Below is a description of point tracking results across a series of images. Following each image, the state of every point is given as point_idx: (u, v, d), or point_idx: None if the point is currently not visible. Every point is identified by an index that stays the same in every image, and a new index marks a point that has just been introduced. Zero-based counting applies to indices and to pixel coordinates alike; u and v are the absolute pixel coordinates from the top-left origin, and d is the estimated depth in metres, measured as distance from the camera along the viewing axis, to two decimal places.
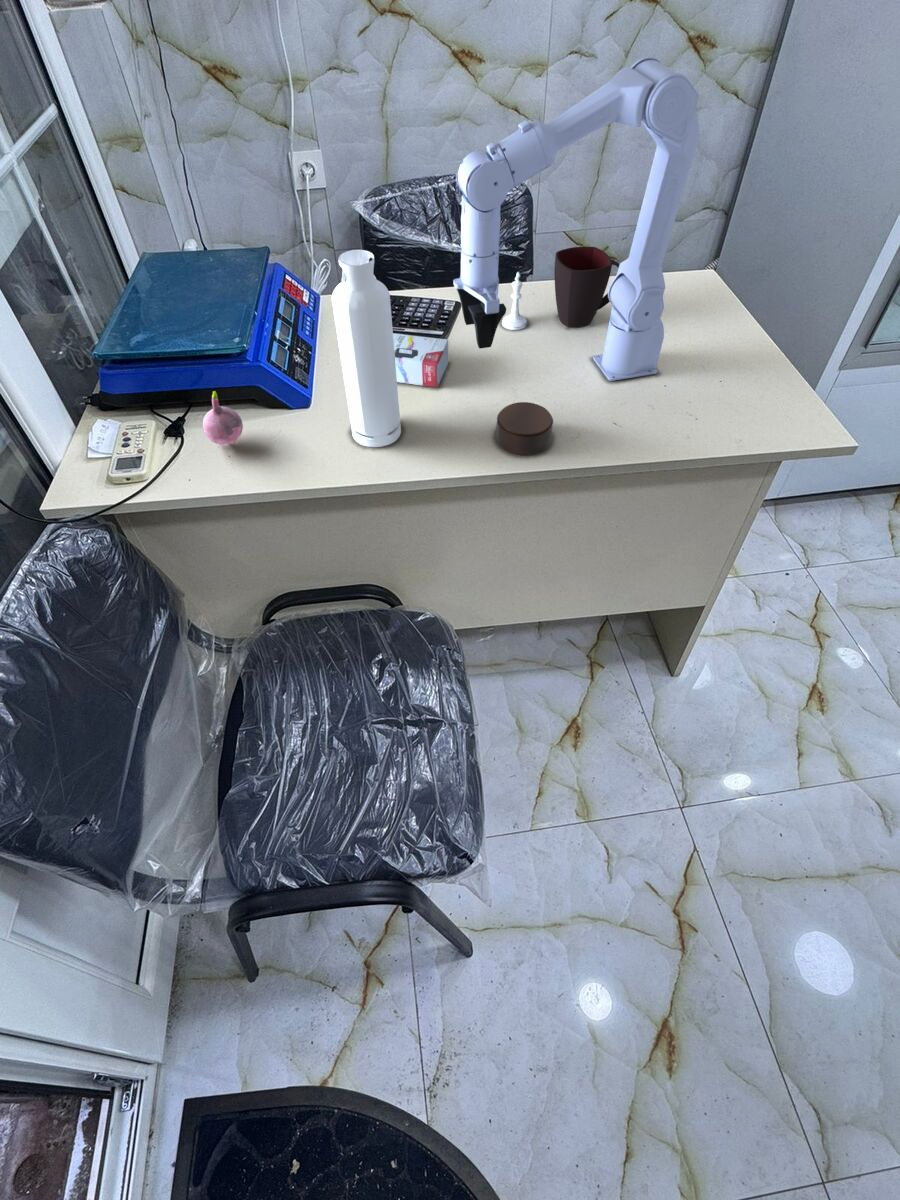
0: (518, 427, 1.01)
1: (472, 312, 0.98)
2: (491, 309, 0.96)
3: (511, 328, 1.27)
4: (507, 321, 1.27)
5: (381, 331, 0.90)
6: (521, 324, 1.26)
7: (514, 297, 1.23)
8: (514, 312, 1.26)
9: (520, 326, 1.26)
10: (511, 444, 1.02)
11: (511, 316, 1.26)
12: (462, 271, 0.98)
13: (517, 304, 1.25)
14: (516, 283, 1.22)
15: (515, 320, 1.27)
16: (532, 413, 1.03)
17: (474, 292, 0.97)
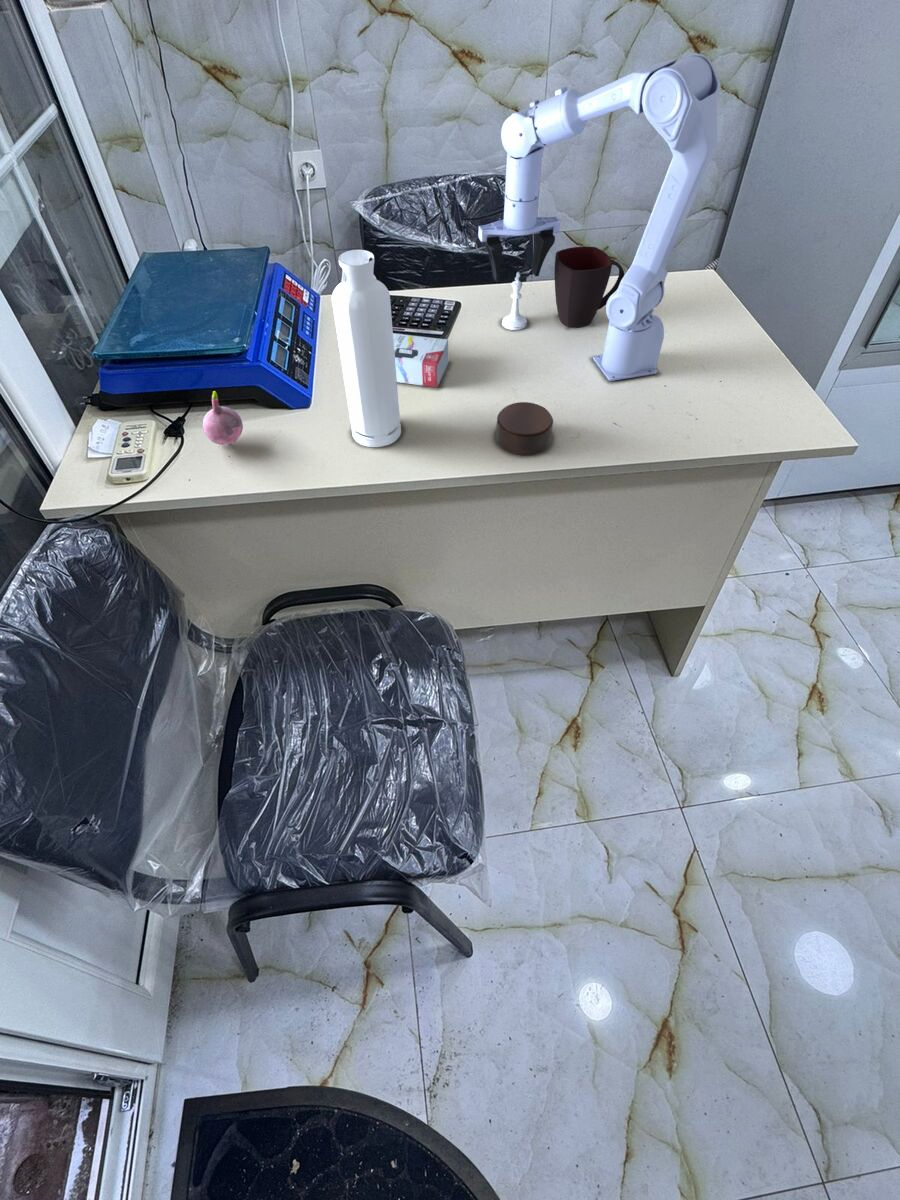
0: (518, 427, 1.01)
1: None
2: (479, 235, 1.13)
3: (511, 328, 1.27)
4: (507, 321, 1.27)
5: (381, 331, 0.90)
6: (521, 324, 1.26)
7: (514, 297, 1.23)
8: (514, 312, 1.26)
9: (520, 326, 1.26)
10: (511, 444, 1.02)
11: (511, 316, 1.26)
12: None
13: (517, 304, 1.25)
14: (516, 283, 1.22)
15: (515, 320, 1.27)
16: (532, 413, 1.03)
17: (496, 222, 1.13)
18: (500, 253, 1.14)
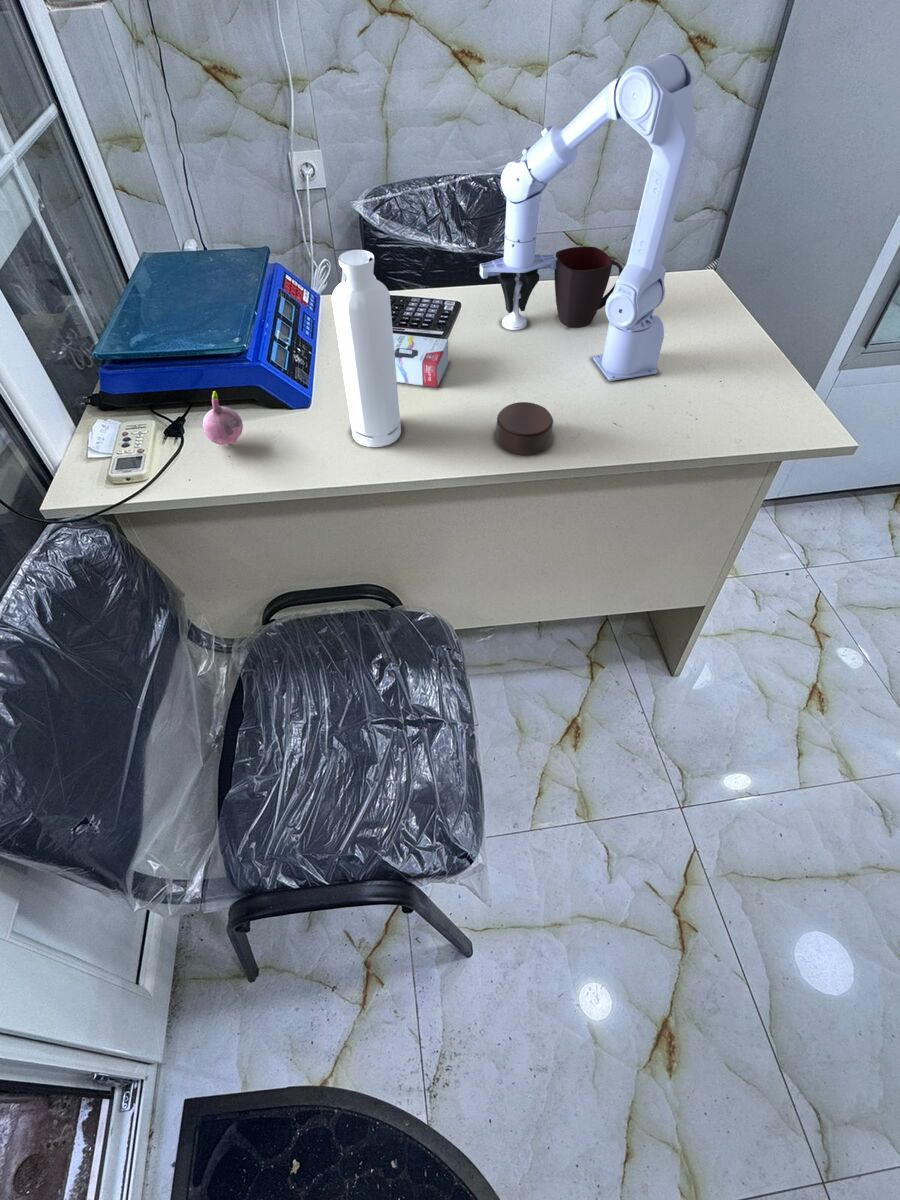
0: (518, 427, 1.01)
1: None
2: (480, 272, 1.19)
3: (511, 328, 1.27)
4: (507, 321, 1.27)
5: (381, 331, 0.90)
6: (521, 324, 1.26)
7: (514, 297, 1.23)
8: (514, 312, 1.26)
9: (520, 326, 1.26)
10: (511, 444, 1.02)
11: (511, 316, 1.26)
12: None
13: (517, 304, 1.25)
14: (516, 283, 1.22)
15: (515, 320, 1.27)
16: (532, 413, 1.03)
17: (496, 260, 1.19)
18: (513, 287, 1.20)
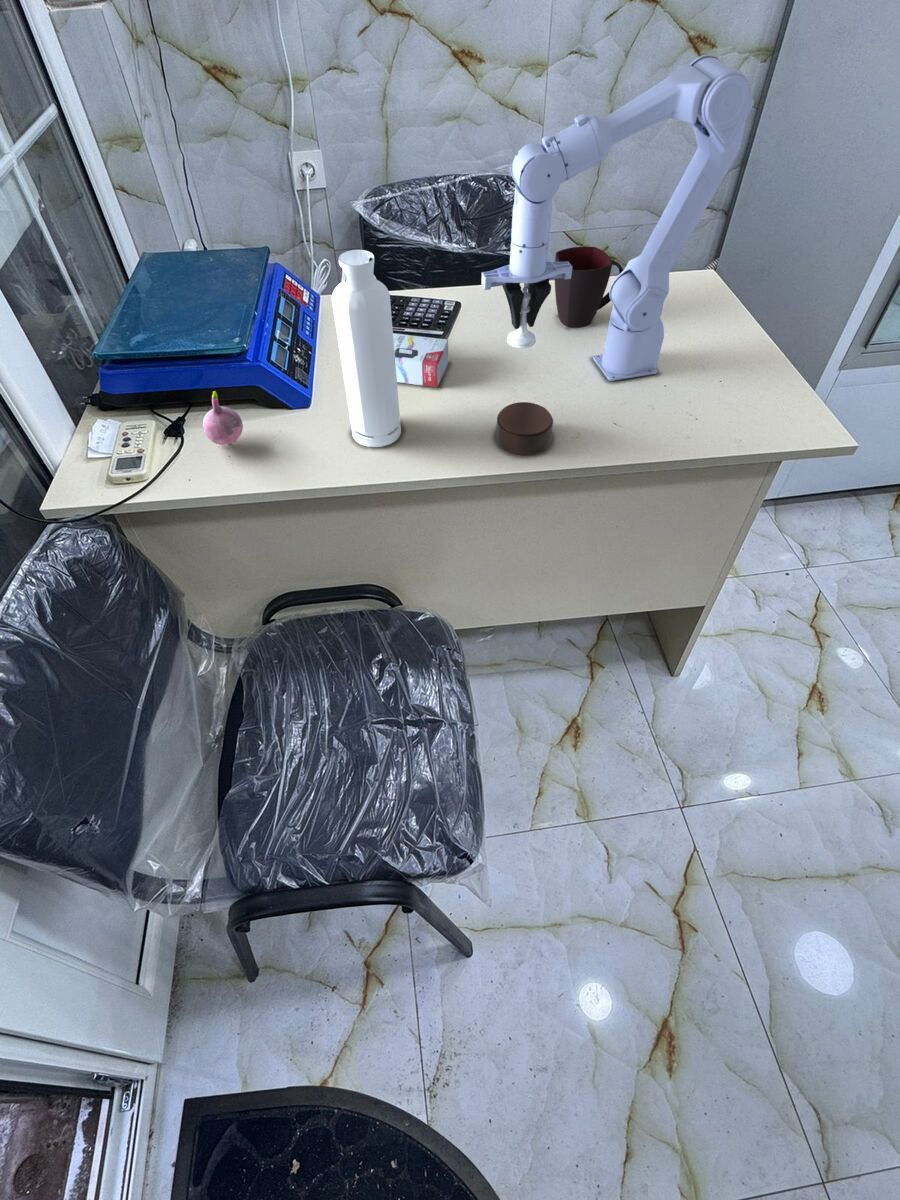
0: (518, 427, 1.01)
1: None
2: (482, 282, 1.02)
3: (518, 346, 1.10)
4: (513, 338, 1.10)
5: (381, 331, 0.90)
6: (529, 342, 1.09)
7: (521, 311, 1.06)
8: (522, 328, 1.09)
9: (528, 343, 1.09)
10: (511, 444, 1.02)
11: (518, 332, 1.09)
12: None
13: (525, 319, 1.08)
14: (524, 295, 1.04)
15: (523, 337, 1.09)
16: (532, 413, 1.03)
17: (501, 267, 1.02)
18: (520, 300, 1.03)
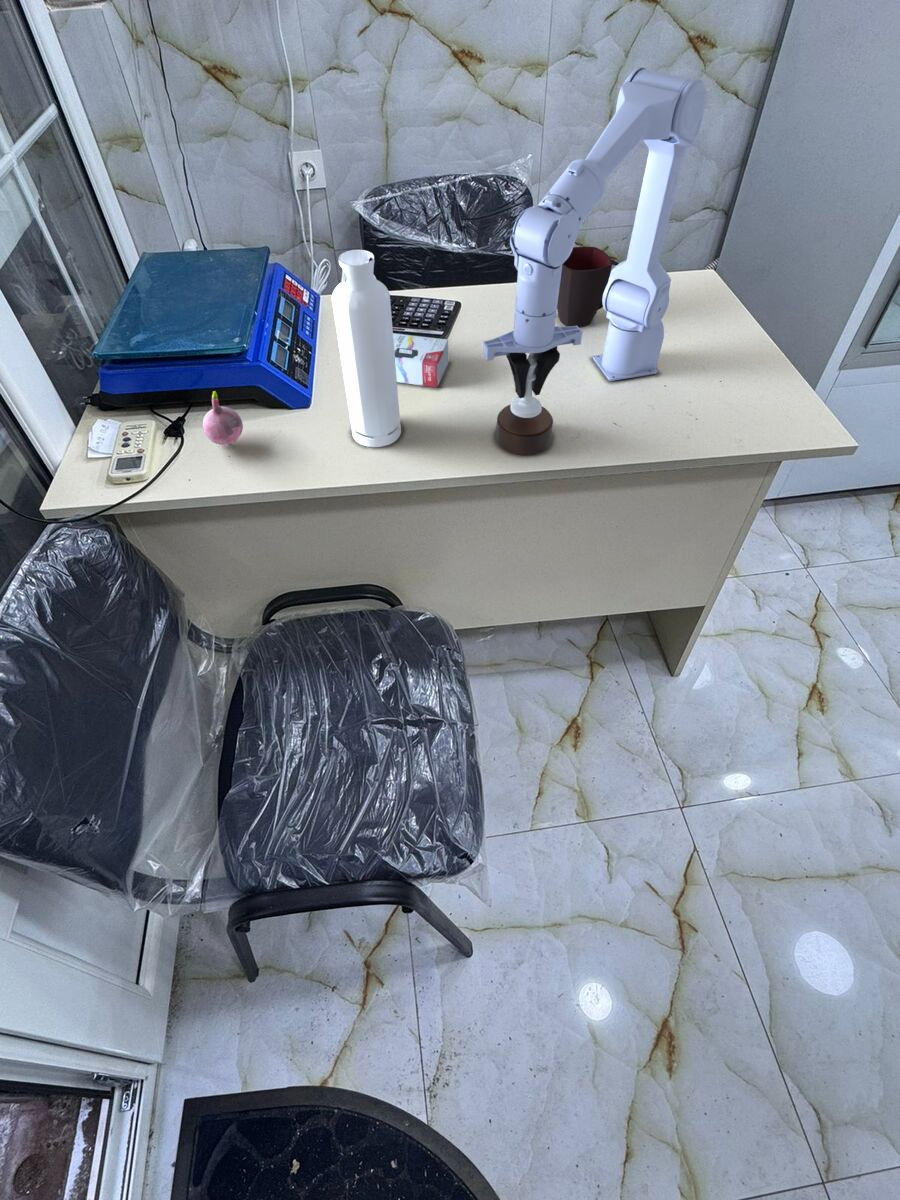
0: (518, 427, 1.01)
1: None
2: (484, 352, 0.92)
3: (523, 416, 1.00)
4: (517, 406, 1.00)
5: (381, 331, 0.90)
6: (535, 410, 1.00)
7: (527, 379, 0.96)
8: (527, 396, 0.99)
9: (534, 413, 0.99)
10: (511, 444, 1.02)
11: (522, 401, 0.99)
12: None
13: (530, 387, 0.98)
14: None
15: (528, 405, 1.00)
16: None
17: (504, 335, 0.92)
18: (526, 369, 0.93)
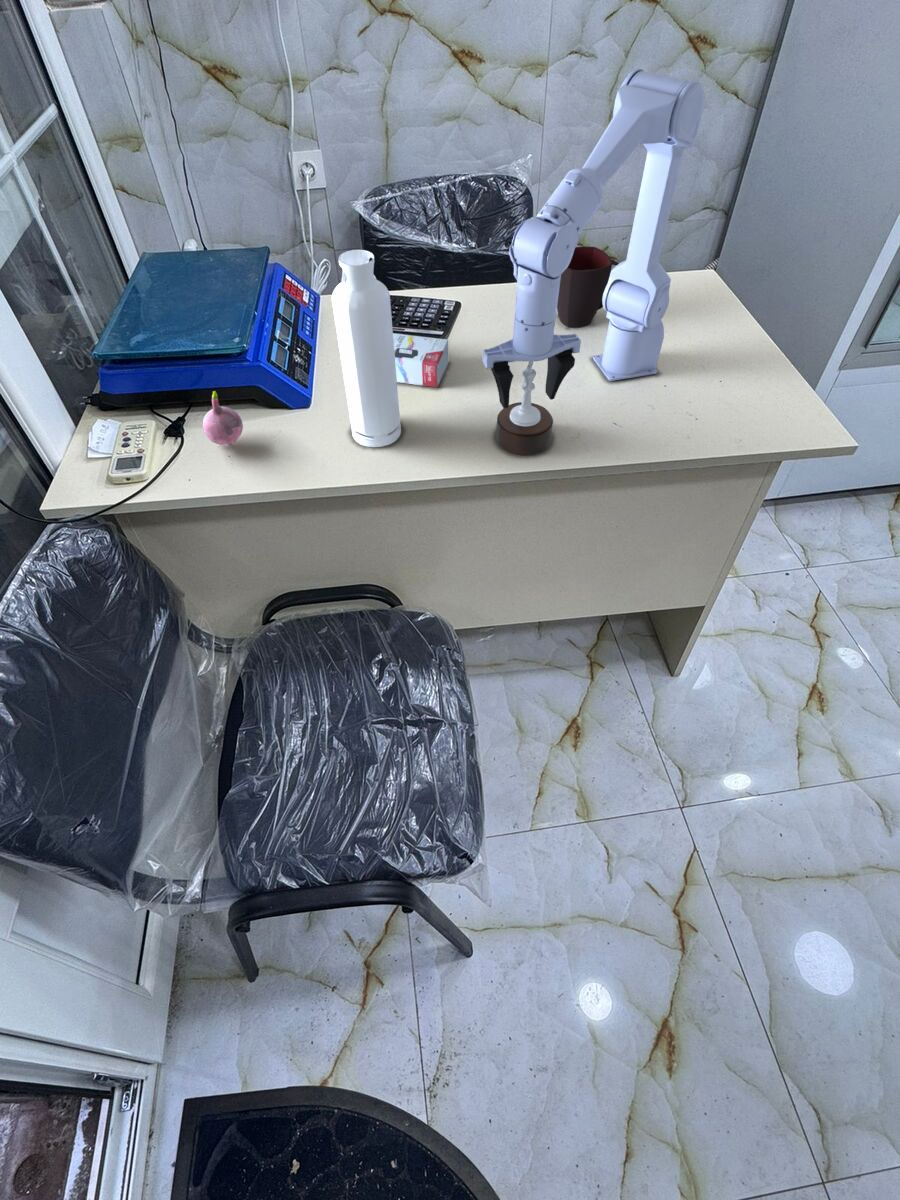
0: (518, 427, 1.01)
1: None
2: (484, 360, 0.93)
3: (522, 424, 1.01)
4: (517, 415, 1.01)
5: (381, 331, 0.90)
6: (534, 419, 1.01)
7: (526, 389, 0.98)
8: (526, 405, 1.00)
9: (533, 421, 1.01)
10: (511, 444, 1.02)
11: (521, 410, 1.01)
12: None
13: (529, 396, 0.99)
14: (528, 372, 0.96)
15: (527, 414, 1.01)
16: None
17: None
18: (509, 380, 0.94)
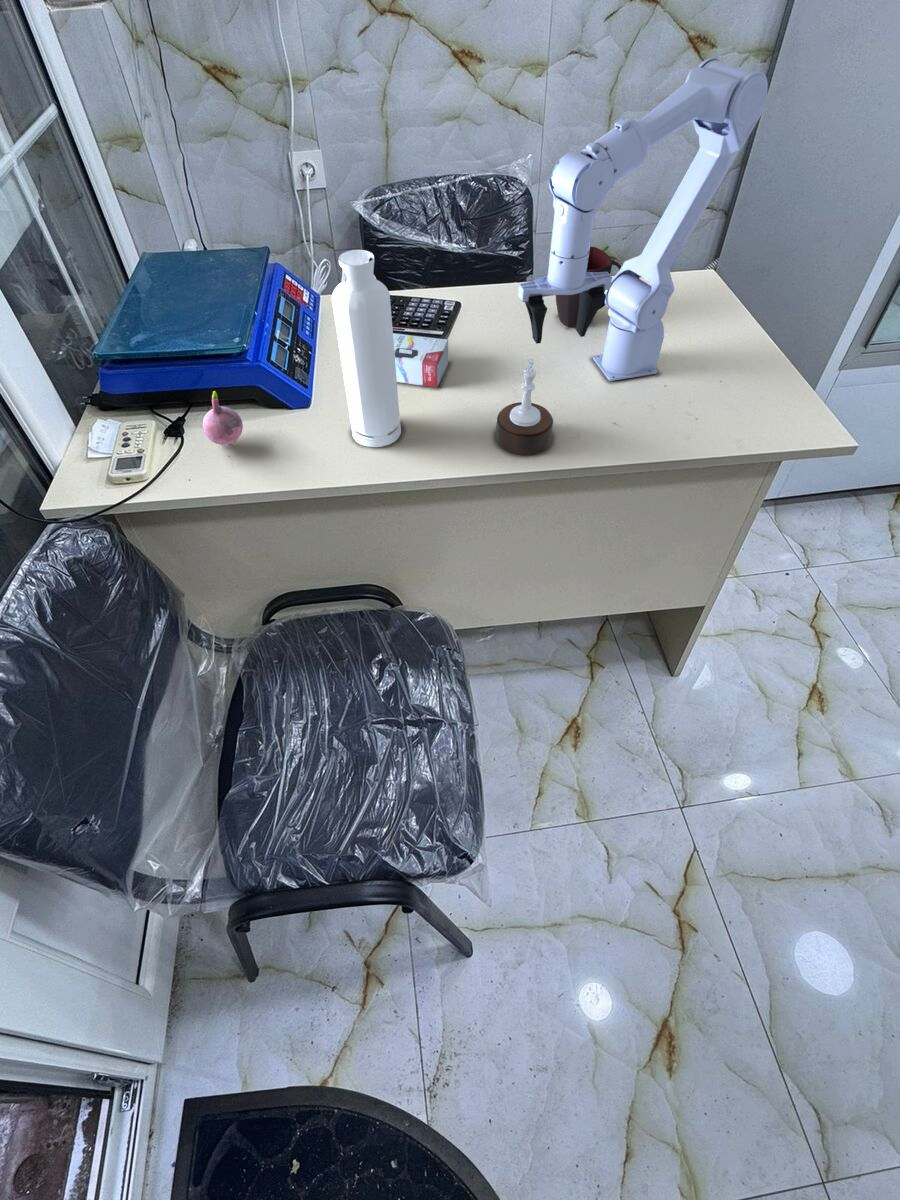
0: (518, 427, 1.01)
1: None
2: (519, 294, 0.98)
3: (522, 424, 1.01)
4: (517, 415, 1.01)
5: (381, 331, 0.90)
6: (534, 419, 1.01)
7: (526, 389, 0.98)
8: (526, 405, 1.00)
9: (533, 421, 1.01)
10: (511, 444, 1.02)
11: (521, 410, 1.01)
12: None
13: (529, 396, 0.99)
14: (528, 372, 0.96)
15: (527, 414, 1.01)
16: None
17: (538, 278, 0.99)
18: (543, 314, 0.99)
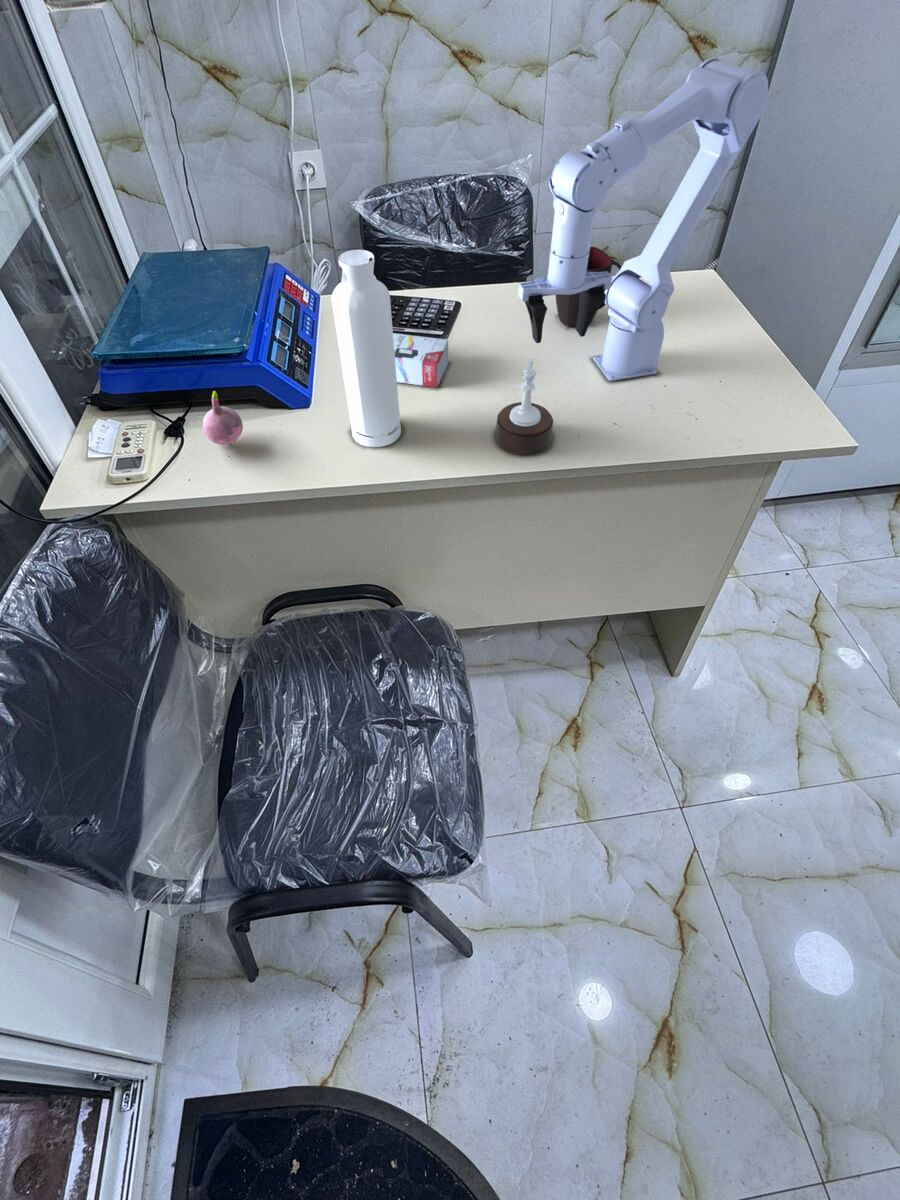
0: (518, 427, 1.01)
1: None
2: (519, 293, 0.98)
3: (522, 424, 1.01)
4: (517, 415, 1.01)
5: (381, 331, 0.90)
6: (534, 419, 1.01)
7: (526, 389, 0.98)
8: (526, 405, 1.00)
9: (533, 421, 1.01)
10: (511, 444, 1.02)
11: (521, 410, 1.01)
12: None
13: (529, 396, 0.99)
14: (528, 372, 0.96)
15: (527, 414, 1.01)
16: None
17: (539, 278, 0.99)
18: (543, 314, 0.99)
